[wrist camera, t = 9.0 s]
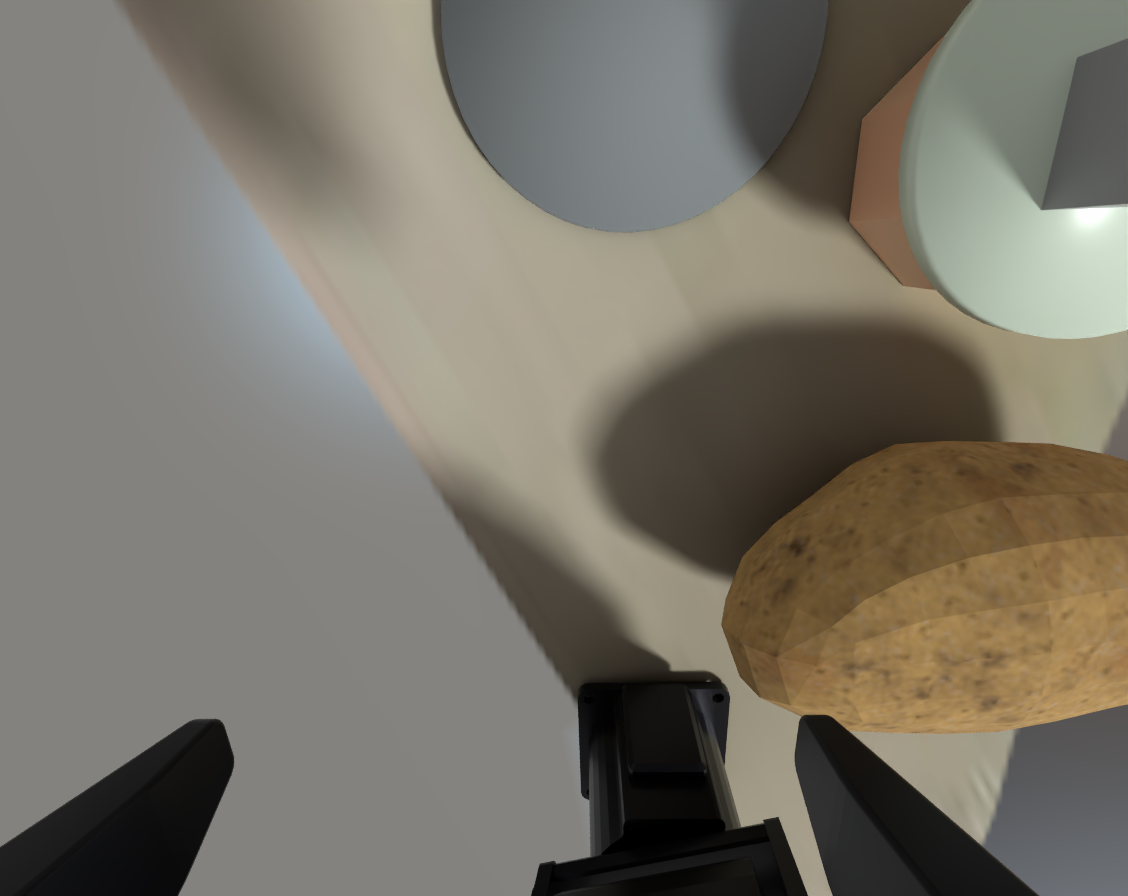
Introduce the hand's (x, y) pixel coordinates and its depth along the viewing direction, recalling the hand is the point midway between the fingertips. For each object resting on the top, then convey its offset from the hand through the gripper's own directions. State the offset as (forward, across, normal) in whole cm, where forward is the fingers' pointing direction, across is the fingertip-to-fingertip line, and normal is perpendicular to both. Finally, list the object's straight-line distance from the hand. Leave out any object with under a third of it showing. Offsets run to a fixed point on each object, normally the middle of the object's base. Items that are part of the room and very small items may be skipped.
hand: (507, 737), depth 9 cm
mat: (+13, -3, -13) cm, 19 cm away
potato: (+13, -12, +4) cm, 19 cm away
